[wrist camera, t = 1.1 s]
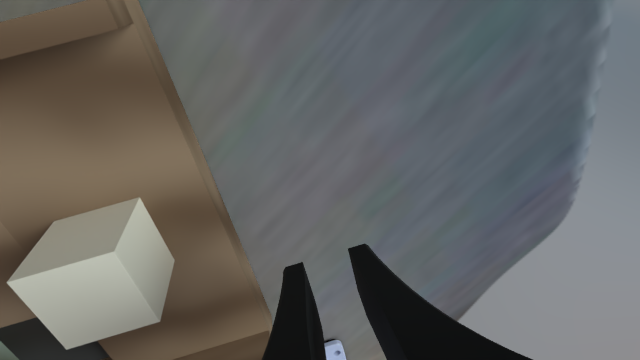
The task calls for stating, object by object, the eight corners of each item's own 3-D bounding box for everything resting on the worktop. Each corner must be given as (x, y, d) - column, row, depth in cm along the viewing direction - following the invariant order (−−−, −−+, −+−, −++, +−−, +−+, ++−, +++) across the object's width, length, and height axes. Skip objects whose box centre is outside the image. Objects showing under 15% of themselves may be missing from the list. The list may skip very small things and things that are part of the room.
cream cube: (174, 260, 19) (160, 321, 16) (98, 282, 19) (66, 349, 16) (139, 197, 17) (114, 251, 14) (53, 221, 17) (6, 282, 14)
